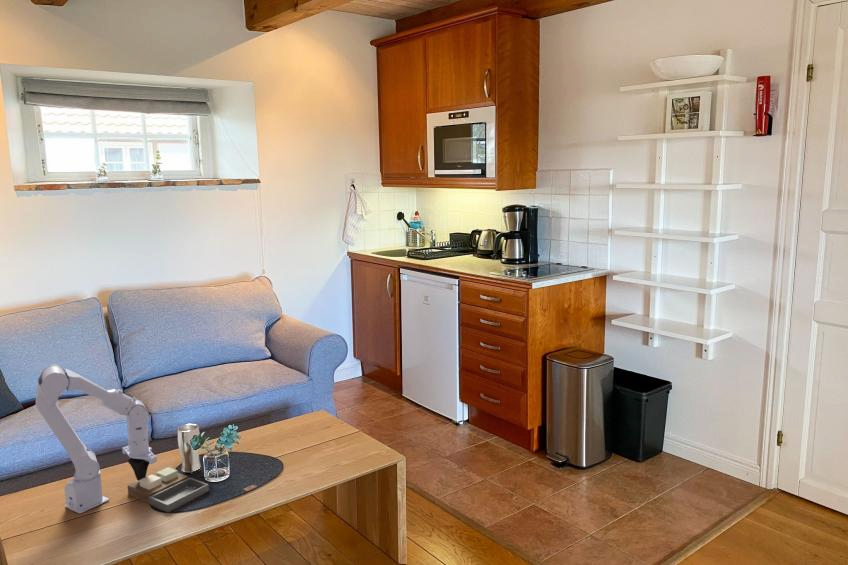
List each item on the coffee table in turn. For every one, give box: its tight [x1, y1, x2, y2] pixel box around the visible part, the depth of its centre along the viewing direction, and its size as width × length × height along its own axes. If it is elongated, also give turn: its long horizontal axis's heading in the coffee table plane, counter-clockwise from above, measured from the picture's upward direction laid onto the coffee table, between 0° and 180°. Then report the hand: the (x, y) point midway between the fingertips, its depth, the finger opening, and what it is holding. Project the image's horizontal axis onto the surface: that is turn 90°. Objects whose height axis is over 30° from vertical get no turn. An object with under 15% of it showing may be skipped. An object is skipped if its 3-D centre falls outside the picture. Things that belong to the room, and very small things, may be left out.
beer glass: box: [177, 423, 202, 473], centre depth 218 cm, size 7×7×15 cm
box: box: [148, 477, 210, 513], centre depth 200 cm, size 15×9×2 cm, turn 148°
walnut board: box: [127, 469, 189, 504], centre depth 206 cm, size 14×11×3 cm
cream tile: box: [140, 473, 162, 490], centre depth 203 cm, size 4×4×2 cm
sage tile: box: [155, 466, 179, 482], centre depth 208 cm, size 4×4×2 cm
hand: (141, 479), depth 205 cm, fingers closed
